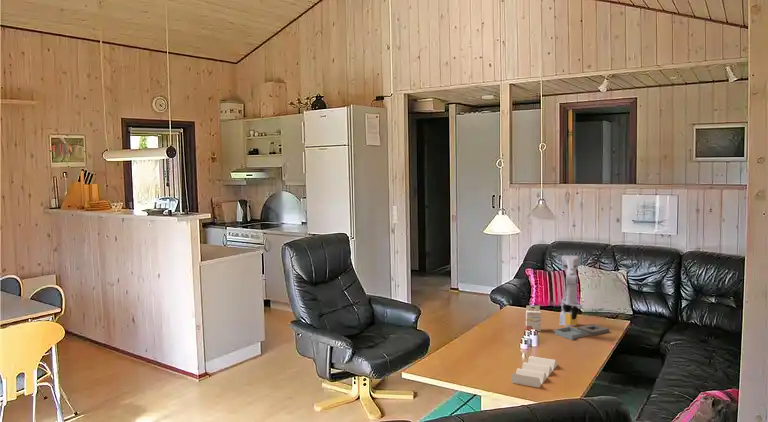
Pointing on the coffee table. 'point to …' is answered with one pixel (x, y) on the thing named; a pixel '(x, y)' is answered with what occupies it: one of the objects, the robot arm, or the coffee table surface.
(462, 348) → the coffee table surface
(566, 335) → the parts tray
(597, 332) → the block
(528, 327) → the ink cartridge box
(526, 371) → the file organizer
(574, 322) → the block
